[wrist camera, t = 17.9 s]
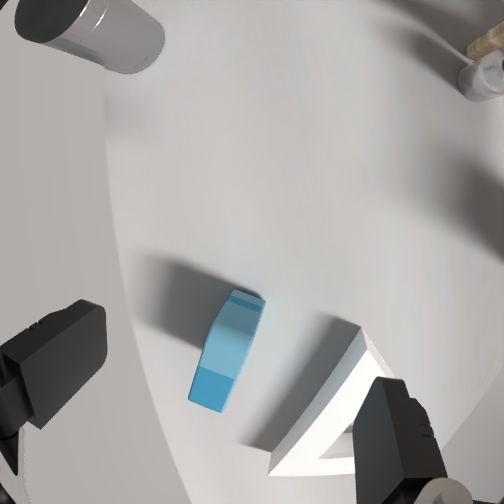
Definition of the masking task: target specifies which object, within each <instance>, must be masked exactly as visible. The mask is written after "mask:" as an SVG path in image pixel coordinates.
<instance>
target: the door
mask: <svg viewBox="0 0 504 504" xmlns="http://www.w3.org/2000/svg"><path fill="white" fill-rule="evenodd" d="M499 48H504V20H503V21H502V22H500V23H499V24H498V25H496V26H495V27H493V28H492V29H490V30H489V31H488V32H486V33H485V34H483V35H482V36H481V37H479V38H478V39H476V40H475V41H474V42H472V43H471V44H469V45H468V46H467V54H466V56H467V57H469V58H472V59H474V60H476V61H477V60H479V59H481V58H482V57H484V56H486V55H488V54H490V53H492V52H494V51H495V50H497V49H499Z"/></svg>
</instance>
